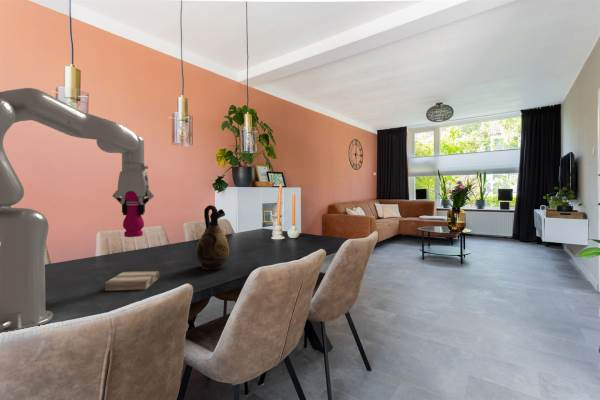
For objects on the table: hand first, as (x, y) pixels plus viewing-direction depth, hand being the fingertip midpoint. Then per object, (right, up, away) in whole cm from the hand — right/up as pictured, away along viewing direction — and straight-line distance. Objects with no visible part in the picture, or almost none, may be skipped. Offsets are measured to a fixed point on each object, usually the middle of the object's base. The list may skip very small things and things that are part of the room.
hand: (133, 214), depth 113 cm
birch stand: (0, -27, +1) cm, 27 cm away
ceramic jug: (+22, -27, +27) cm, 44 cm away
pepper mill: (0, -9, 0) cm, 9 cm away
